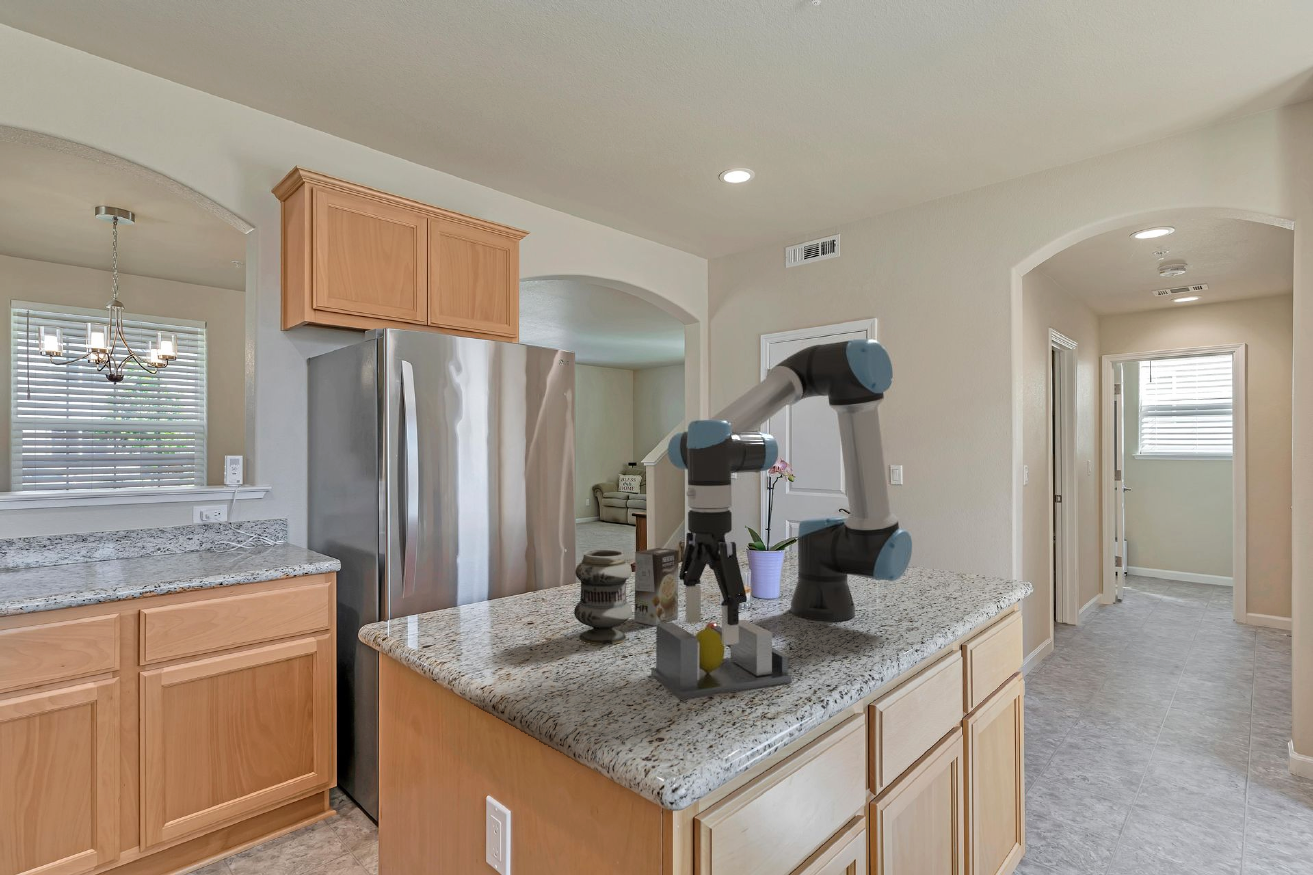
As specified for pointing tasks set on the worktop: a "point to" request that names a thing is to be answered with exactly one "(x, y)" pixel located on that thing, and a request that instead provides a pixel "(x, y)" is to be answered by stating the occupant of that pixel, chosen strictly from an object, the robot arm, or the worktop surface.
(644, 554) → the coffee box
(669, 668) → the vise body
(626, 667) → the worktop surface
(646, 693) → the worktop surface
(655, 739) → the worktop surface
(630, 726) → the worktop surface
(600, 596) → the apothecary jar
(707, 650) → the lemon
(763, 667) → the free jaw
